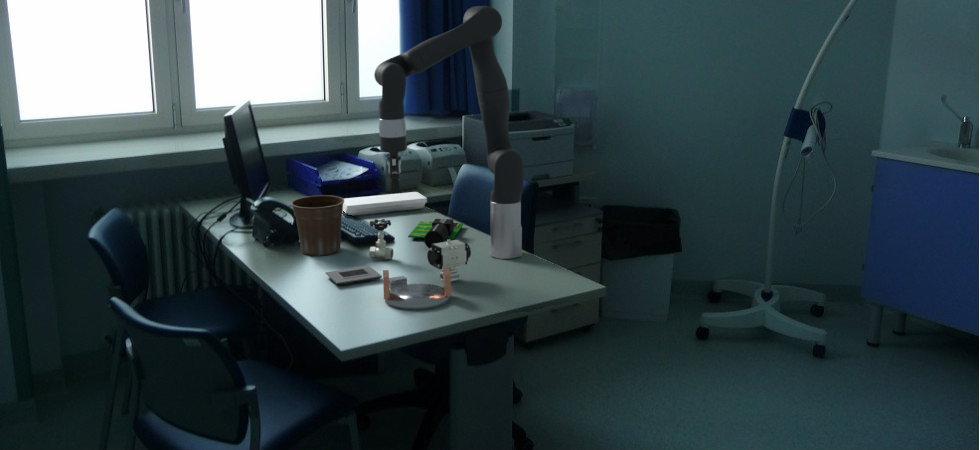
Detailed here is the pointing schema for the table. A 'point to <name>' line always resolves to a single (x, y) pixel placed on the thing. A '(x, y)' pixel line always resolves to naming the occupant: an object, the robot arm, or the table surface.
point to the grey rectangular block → (397, 281)
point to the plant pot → (319, 223)
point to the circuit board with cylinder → (436, 231)
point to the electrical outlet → (353, 275)
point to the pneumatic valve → (449, 256)
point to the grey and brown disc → (417, 294)
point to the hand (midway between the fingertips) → (395, 190)
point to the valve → (380, 241)
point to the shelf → (384, 203)
